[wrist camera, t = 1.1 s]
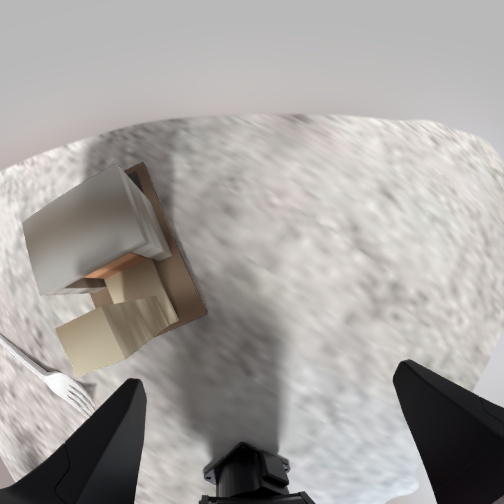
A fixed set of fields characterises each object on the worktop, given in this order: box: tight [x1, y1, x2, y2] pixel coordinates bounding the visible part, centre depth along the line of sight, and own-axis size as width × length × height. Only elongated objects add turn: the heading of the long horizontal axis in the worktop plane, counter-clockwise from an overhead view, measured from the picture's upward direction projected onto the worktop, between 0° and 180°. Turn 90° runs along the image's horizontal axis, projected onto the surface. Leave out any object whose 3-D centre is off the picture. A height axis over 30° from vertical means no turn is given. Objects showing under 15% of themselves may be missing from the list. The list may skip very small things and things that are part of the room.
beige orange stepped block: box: [56, 252, 179, 377], centre depth 16 cm, size 10×4×11 cm, turn 25°
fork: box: [0, 335, 96, 419], centre depth 20 cm, size 3×20×2 cm, turn 69°
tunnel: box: [22, 162, 208, 338], centre depth 18 cm, size 14×9×9 cm, turn 25°
